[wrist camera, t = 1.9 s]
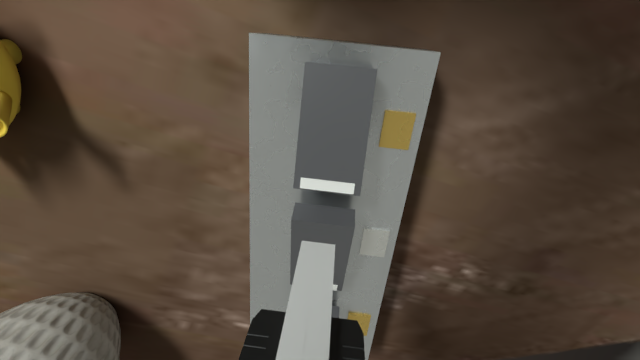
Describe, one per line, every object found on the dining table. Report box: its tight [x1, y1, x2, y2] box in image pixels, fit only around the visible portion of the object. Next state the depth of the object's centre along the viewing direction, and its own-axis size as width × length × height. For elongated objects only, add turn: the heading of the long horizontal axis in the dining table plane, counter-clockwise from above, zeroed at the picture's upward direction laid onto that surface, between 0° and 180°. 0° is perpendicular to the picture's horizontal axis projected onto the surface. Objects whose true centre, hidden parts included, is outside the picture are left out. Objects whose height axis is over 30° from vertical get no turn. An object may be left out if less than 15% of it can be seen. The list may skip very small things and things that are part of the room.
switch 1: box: [293, 62, 378, 196], centre depth 23 cm, size 9×5×2 cm, turn 175°
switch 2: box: [290, 202, 355, 291], centre depth 28 cm, size 9×5×2 cm, turn 175°
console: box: [249, 33, 441, 360], centre depth 32 cm, size 34×14×6 cm, turn 175°
